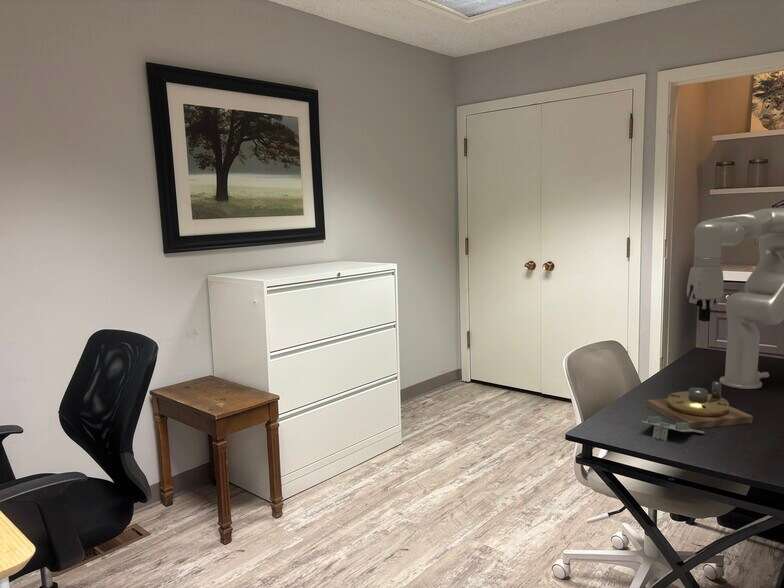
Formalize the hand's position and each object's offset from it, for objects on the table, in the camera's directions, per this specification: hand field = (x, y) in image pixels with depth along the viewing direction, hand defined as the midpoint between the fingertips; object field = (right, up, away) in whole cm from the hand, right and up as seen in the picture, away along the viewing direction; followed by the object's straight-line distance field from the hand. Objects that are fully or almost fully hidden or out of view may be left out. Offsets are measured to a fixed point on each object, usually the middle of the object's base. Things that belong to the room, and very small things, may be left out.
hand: (704, 320), depth 190 cm
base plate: (-8, -27, -12) cm, 31 cm away
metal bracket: (-23, -30, -25) cm, 46 cm away
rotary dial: (-9, -25, -12) cm, 29 cm away
